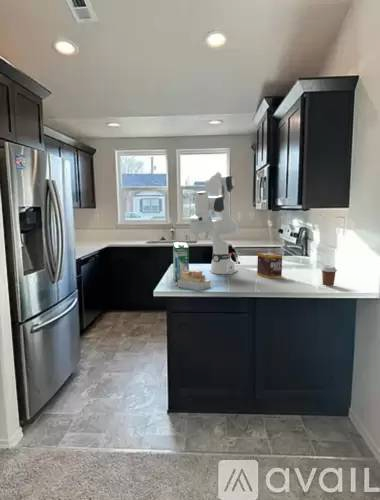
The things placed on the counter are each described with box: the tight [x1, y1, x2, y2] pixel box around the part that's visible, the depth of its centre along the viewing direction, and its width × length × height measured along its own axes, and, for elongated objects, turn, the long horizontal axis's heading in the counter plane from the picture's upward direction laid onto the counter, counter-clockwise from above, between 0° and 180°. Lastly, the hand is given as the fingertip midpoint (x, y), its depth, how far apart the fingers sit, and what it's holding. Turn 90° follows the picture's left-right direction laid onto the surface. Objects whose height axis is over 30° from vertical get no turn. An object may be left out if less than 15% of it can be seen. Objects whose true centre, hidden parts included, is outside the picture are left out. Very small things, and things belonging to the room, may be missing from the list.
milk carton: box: [172, 241, 190, 282], centre depth 235 cm, size 9×9×25 cm
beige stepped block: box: [180, 269, 207, 283], centre depth 217 cm, size 6×15×5 cm, turn 51°
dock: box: [177, 279, 211, 292], centre depth 217 cm, size 12×16×4 cm
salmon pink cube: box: [192, 269, 203, 277], centre depth 215 cm, size 4×4×4 cm
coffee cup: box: [320, 265, 338, 287], centre depth 218 cm, size 9×9×12 cm
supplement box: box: [256, 252, 283, 279], centre depth 248 cm, size 10×15×16 cm
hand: (202, 239), depth 224 cm, fingers open, 8 cm apart
